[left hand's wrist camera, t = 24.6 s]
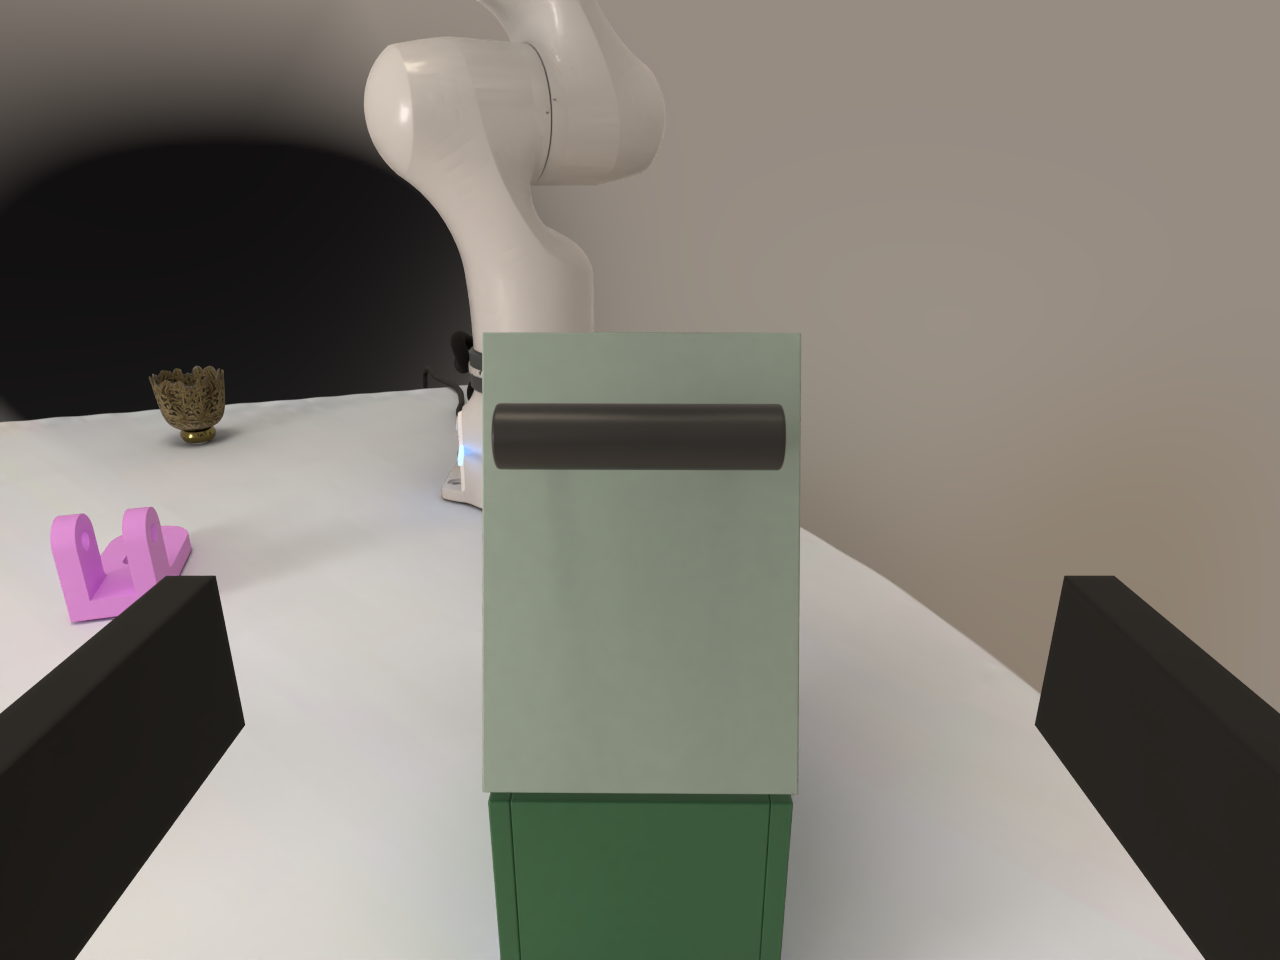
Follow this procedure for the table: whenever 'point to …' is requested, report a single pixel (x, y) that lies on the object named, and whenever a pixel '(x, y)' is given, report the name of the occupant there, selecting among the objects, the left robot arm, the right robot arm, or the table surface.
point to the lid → (641, 562)
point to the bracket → (114, 561)
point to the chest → (640, 875)
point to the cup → (191, 401)
